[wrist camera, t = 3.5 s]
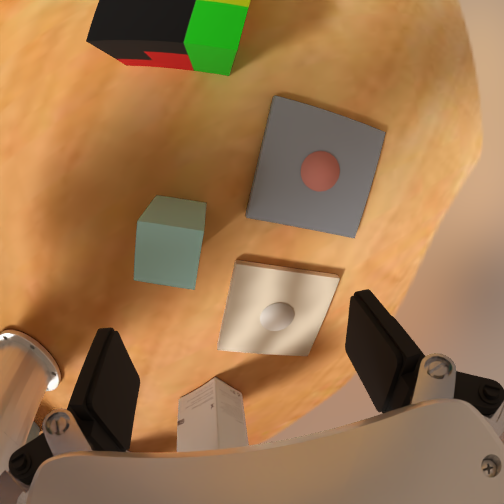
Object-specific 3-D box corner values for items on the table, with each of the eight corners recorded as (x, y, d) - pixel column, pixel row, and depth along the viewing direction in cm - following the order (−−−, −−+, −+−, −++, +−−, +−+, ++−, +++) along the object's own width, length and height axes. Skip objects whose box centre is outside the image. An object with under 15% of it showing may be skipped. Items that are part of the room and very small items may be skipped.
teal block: (151, 241, 30) (133, 280, 22) (156, 194, 28) (137, 220, 20) (198, 249, 31) (194, 289, 23) (206, 202, 29) (204, 231, 21)
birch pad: (217, 344, 36) (217, 350, 35) (235, 259, 31) (236, 264, 30) (305, 351, 38) (308, 356, 37) (336, 274, 34) (340, 279, 33)
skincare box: (215, 375, 38) (221, 469, 25) (244, 393, 41) (257, 480, 27) (176, 399, 40) (173, 485, 26) (205, 415, 42) (209, 495, 29)
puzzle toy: (152, -19, 18) (130, -68, 9) (251, -9, 20) (268, -60, 11) (126, 65, 22) (86, 41, 13) (229, 76, 24) (237, 50, 15)
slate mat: (245, 214, 30) (246, 218, 29) (273, 96, 25) (275, 95, 24) (350, 234, 32) (355, 238, 31) (380, 131, 27) (386, 132, 26)
